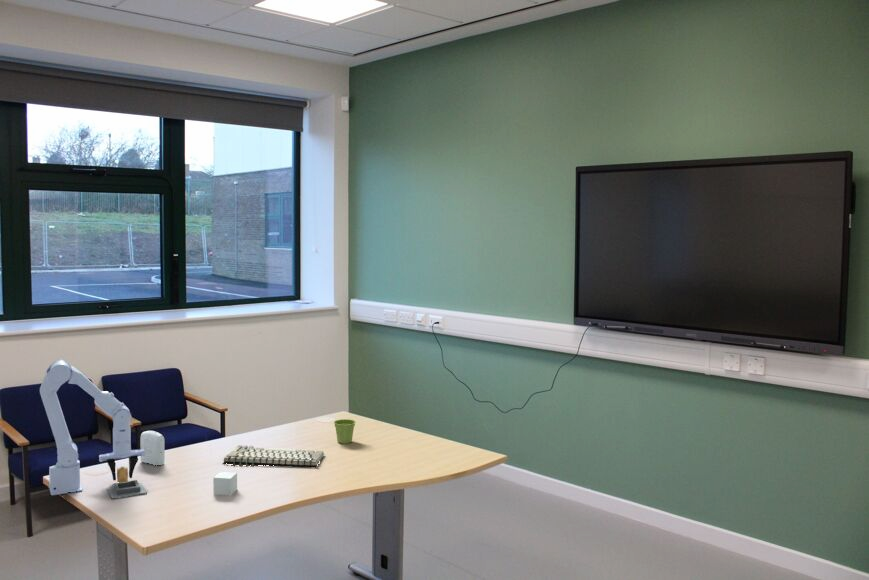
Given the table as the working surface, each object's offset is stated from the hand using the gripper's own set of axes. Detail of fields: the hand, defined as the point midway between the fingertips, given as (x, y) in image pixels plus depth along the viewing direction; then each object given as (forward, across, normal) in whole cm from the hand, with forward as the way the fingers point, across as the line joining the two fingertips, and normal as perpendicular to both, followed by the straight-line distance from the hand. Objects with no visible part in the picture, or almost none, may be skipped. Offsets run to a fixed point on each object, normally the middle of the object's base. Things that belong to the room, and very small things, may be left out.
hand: (122, 478), depth 256 cm
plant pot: (+2, +89, +9) cm, 89 cm away
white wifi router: (+2, +13, +17) cm, 21 cm away
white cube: (+2, +29, -26) cm, 39 cm away
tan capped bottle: (+1, 0, 0) cm, 1 cm away
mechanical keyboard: (+2, +55, 0) cm, 55 cm away
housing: (+1, 0, -10) cm, 10 cm away
